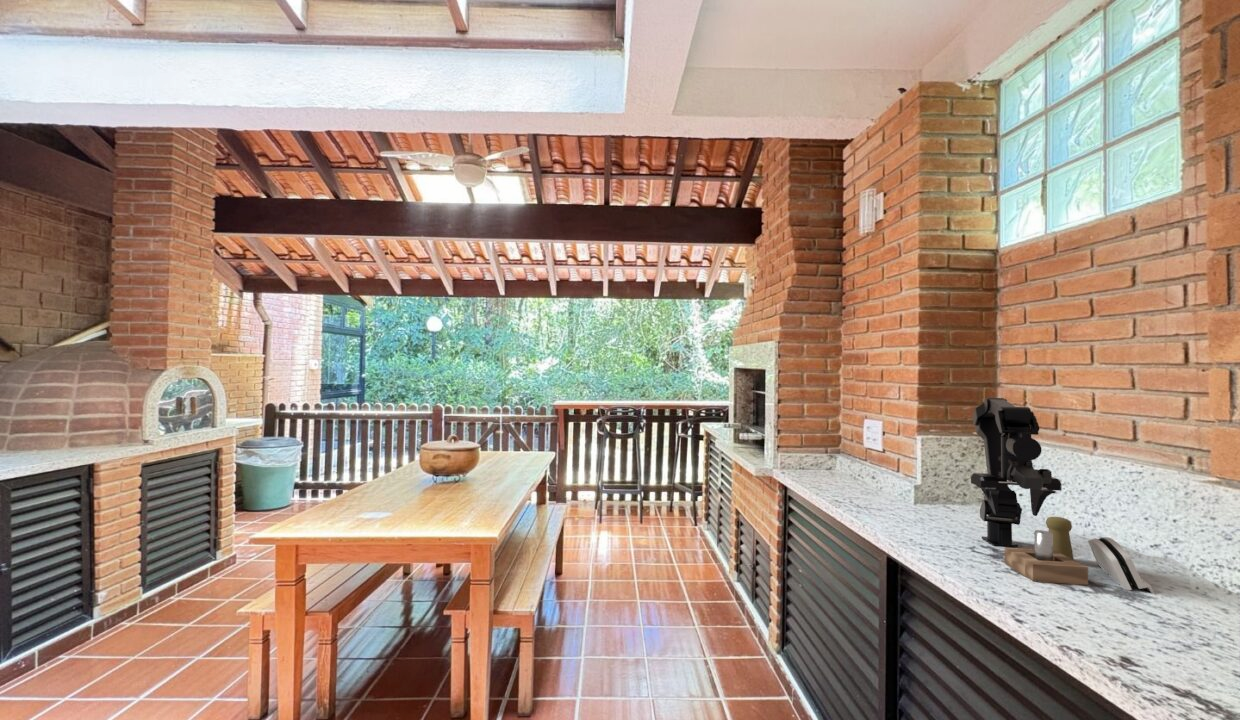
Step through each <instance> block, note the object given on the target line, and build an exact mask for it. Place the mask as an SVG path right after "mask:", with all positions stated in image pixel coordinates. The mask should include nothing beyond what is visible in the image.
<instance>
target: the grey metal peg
mask: <svg viewBox="0 0 1240 720" xmlns="http://www.w3.org/2000/svg"><path fill="white" fill-rule="evenodd" d="M1048 531H1049V530H1047V531H1046V530H1040V529H1036V530H1034V549H1035V559H1037V560H1041V561H1053V533H1051V532H1048Z"/></svg>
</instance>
